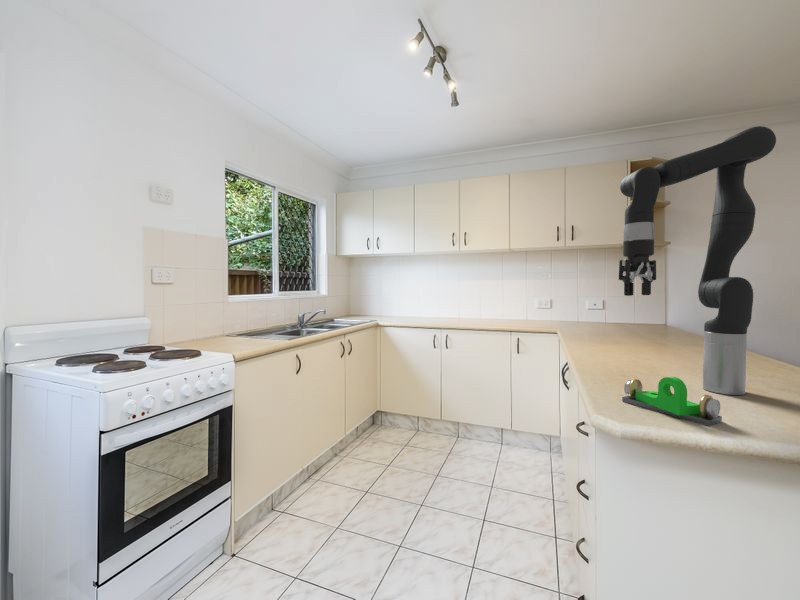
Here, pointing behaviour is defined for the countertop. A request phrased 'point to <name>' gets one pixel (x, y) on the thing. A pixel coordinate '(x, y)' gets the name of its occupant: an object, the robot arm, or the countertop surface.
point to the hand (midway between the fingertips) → (637, 295)
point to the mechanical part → (670, 397)
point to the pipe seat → (707, 415)
